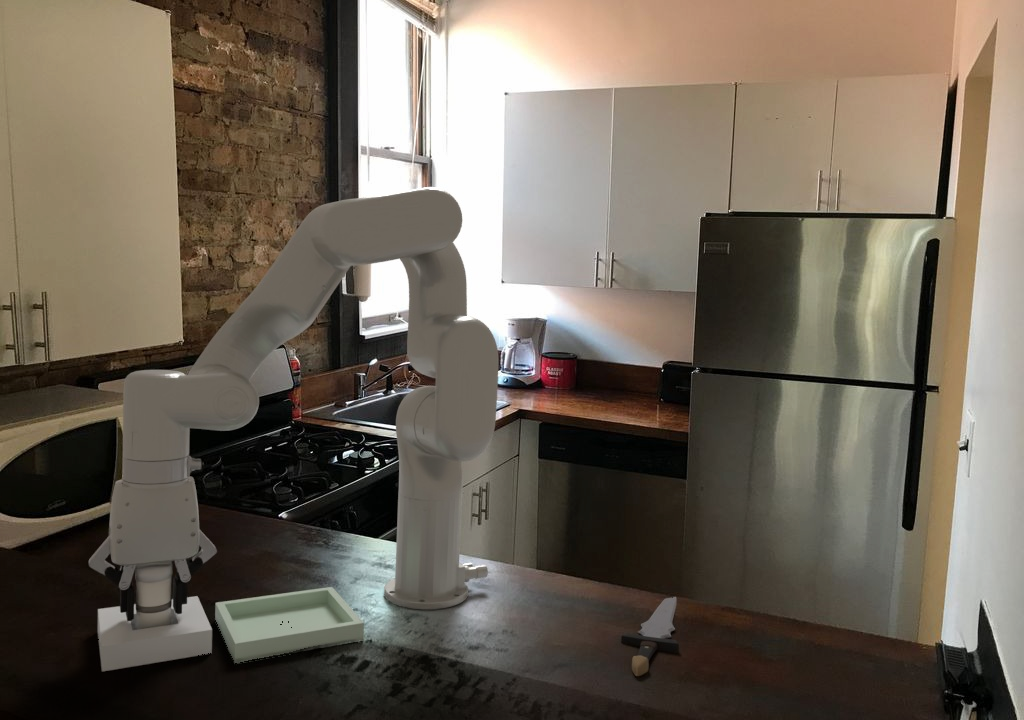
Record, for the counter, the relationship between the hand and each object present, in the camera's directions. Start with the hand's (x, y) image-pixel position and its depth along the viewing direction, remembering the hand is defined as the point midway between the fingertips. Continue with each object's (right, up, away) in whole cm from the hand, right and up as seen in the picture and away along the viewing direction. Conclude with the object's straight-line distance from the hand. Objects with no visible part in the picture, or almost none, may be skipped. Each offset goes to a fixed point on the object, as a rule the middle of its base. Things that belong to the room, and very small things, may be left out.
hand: (153, 612), depth 100 cm
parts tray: (+15, -4, +6) cm, 17 cm away
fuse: (0, -4, 0) cm, 4 cm away
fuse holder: (0, -4, 0) cm, 4 cm away
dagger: (+65, -7, +12) cm, 67 cm away
